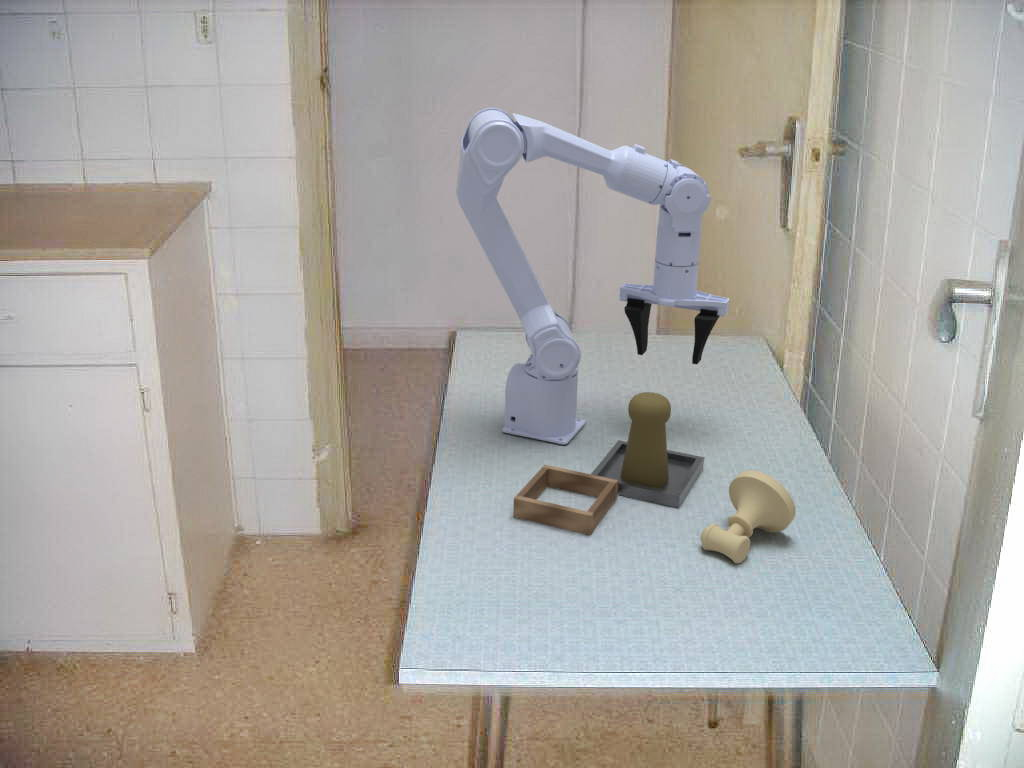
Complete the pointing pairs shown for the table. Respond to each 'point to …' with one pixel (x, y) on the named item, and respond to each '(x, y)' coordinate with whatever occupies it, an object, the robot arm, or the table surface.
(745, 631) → the table surface
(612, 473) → the grey square tray
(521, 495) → the walnut stand
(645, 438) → the olive peg figure
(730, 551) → the door knob
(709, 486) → the table surface
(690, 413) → the table surface
